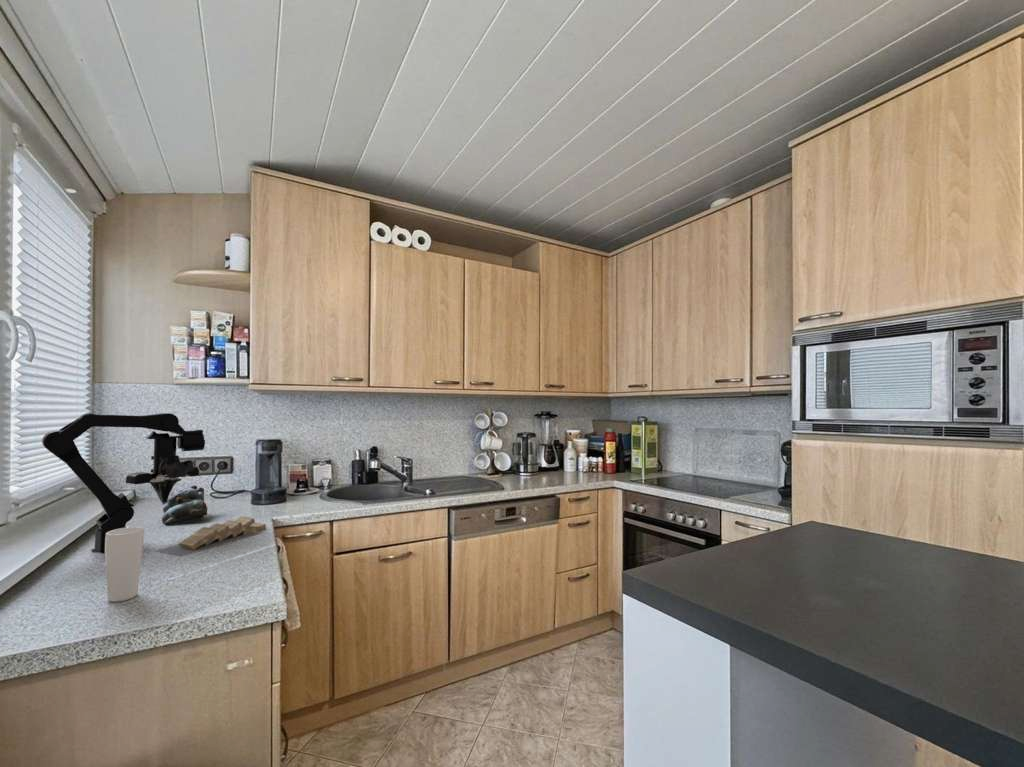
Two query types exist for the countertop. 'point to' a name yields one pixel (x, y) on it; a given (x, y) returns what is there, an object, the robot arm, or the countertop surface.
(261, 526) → the domino
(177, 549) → the slate mat
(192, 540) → the domino
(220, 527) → the domino
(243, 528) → the wooden block
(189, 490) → the lucky cat figurine
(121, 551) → the beige tall tapered piece
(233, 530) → the domino
